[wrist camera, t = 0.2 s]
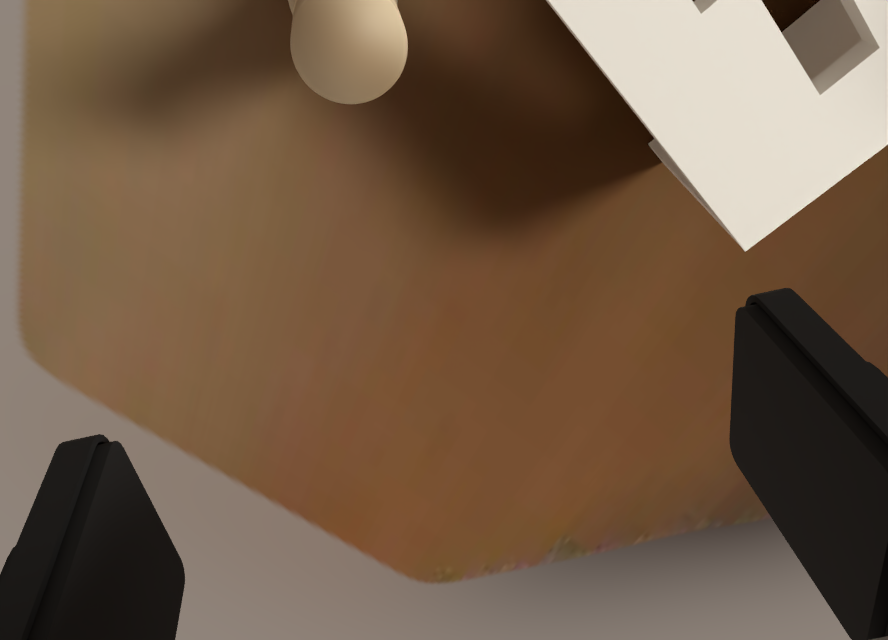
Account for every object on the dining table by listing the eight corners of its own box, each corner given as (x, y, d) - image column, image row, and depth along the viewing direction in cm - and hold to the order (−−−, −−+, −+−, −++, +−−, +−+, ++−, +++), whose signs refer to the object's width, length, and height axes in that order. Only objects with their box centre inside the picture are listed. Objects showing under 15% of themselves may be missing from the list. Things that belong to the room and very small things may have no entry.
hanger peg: (340, -99, 34) (348, -63, 25) (417, -12, 36) (447, 48, 28) (265, -17, 35) (248, 45, 27) (343, 62, 38) (351, 141, 29)
